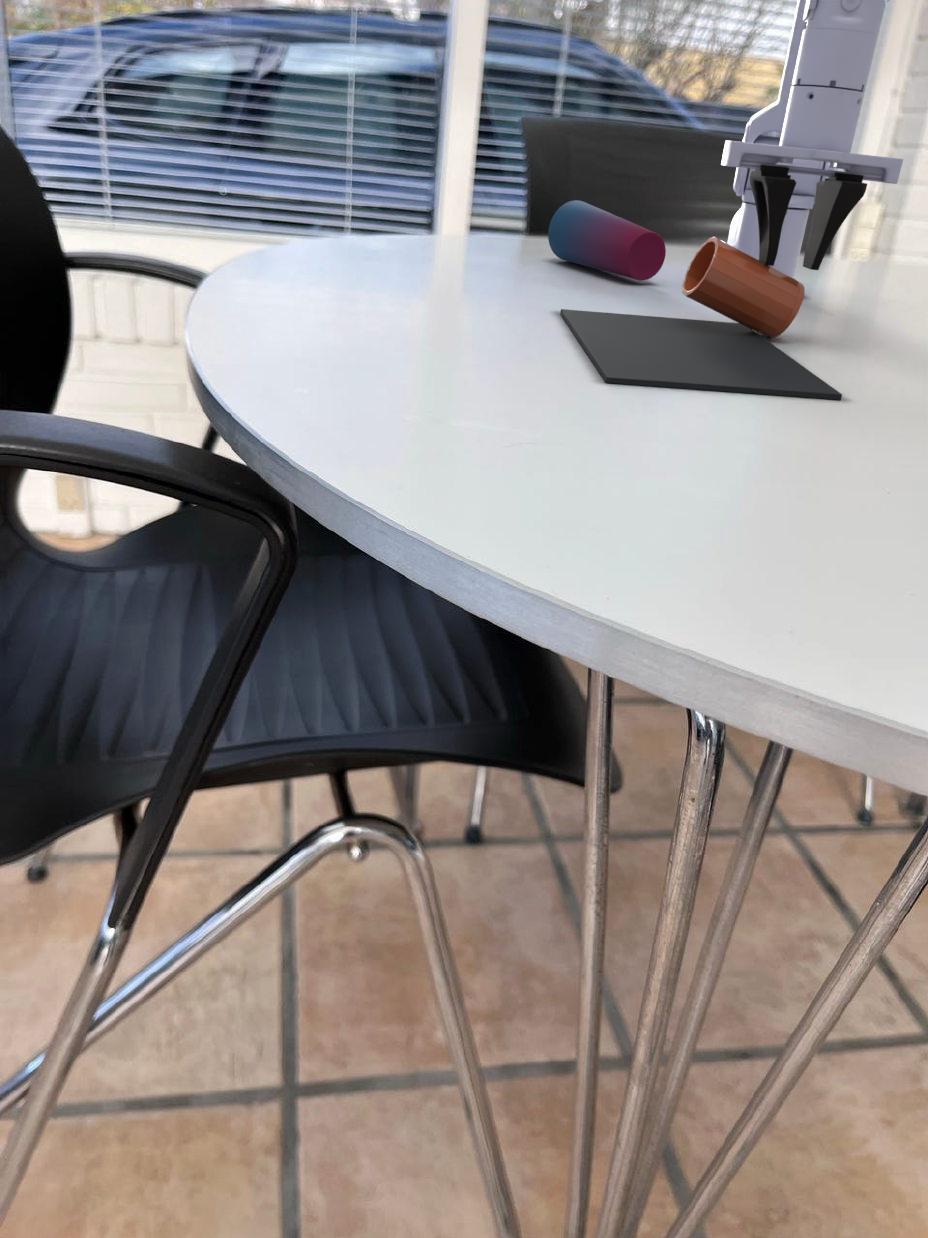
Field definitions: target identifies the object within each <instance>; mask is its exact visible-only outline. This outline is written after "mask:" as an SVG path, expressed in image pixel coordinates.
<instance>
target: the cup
mask: <svg viewBox="0 0 928 1238" xmlns="http://www.w3.org/2000/svg"><path fill="white" fill-rule="evenodd" d="M547 239H548V245H549V247H550V249H551V251H552V253H553V254H554V255H555V256H556V257H557V258H559V259H560V260H562V261H566V262H568V263H573V264H577V265H580V266H584V267H588V268H592V269H596V270H598V271H599V270H600V271H603V272H607V273H610V274H614V275H618V276H623V277H625V278H629V279H634V280H637V281H647V280H650V279H652V278H653V277H655V276H656V275H657V274H658V273H659V271H661V269H662V267H663V265H664V263H665V260H666V251H667V248H666V245H665V241H664V239H663V237H662V236H661V235H660V234H658V233H657V232H655V231H652V230H650V229H647V228H645V227H643V226H641V225H638V224H636V223H633V222H632V221H629V220H627V219H625V218H623V217H620V216H619V215H618V216H617V215H616V214H613V213H611V212H609V211H606V210H604V209H601V208H599V207H597V206H594V205H592V204H590V203H588V202H585V201H583V200H576V199H575V200H570V201H567V202H565V203H564V204H563V205H561V206H560V207H559V208H558V209H557V210H556V211H555V213H554V214H553V216H552V218H551V220H550V222H549V226H548V232H547Z"/></svg>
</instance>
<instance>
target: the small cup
mask: <svg viewBox="0 0 928 1238" xmlns="http://www.w3.org/2000/svg"><path fill="white" fill-rule="evenodd" d="M681 285H682V286H681V292H682V295H684V297H686V298H688V299H690V300H692V301H694V302H696V303H698V304H700V305H702V306H704V307H706V308H708V309H710V310H712V311H714V312H716V313H718V314H720V315H722V316H724V317H726V318H728V319H730V320H732V321H734V322H735V323H740V324H742V325H744V326H746V327H748V328H750V329H752V330H753V331H755V332H756V333H757V334H759V335H761V336H764V337H766V338H768V339H775V338H778V337H779V336H781V335H782V334H783V333H784V332H785V331H786V330H787V329H788V328H789V327H790V326H791V324H792V323H793V322H794V320H795V319H796V317H797V316H798V314H799V312H800V309H801V307H802V305H803V301H804V298H805V293H804V292H805V286H804V284H803V283H802V282H801V281H800V280H798V279H795V277H794V278H792V277H790V276H788V275H786V274H784V273H782V272H781V271H779V270H777V269H775V268H773V267H771V266H769V265H764V263H763V262H761V261H760V260H758V259H756V258H754V257H752V256H750V255H748V254H746V253H745V252H743V251H741V250H739V249H737V248H735V247H733V246H731V245H729V244H728V243H727V241H726V242H725V240H724V241H723V240H722V239H720V238H718V237H716V236H712V237H710V238H708V239H707V240H706V241H705V242H703V243H702V244H701V246H700V247H699V249H697V251H696V253H695V254H694V256H693V258H692V259H691V261H690V263H689V265H688V267H687V269H686V272H685V274H684V278H683V282H682V284H681Z"/></svg>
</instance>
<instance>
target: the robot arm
mask: <svg viewBox="0 0 928 1238" xmlns="http://www.w3.org/2000/svg"><path fill="white" fill-rule="evenodd" d="M886 2H887V3H888V2H890V0H797V2H796V8H795V12H794V17H793V21H792V25H791V26H792V27H791V33H790V36H789V41H788V46H787V52H786V56H785V62H784V67H783V71H782V76H781V80H780V86H779V91H778V94H777V95H778V96H777V99H776V100H775V101H774V102H772V103H771V104H769V105H768V106H766V107H764V108H763V109H761V110H759V111H757V112H756V113H755V114H753V115H752V116H751V117H750V118H749V121H748V122H747V123H746V124H745V129H744V135H743V138H742V140H741V141H740V140H739V141H737V140H728V139H727V140H725V142H724V147H723V152H722V156H721V157H722V158H721V163H720V165H721V166H723V167H728V168H736V169H735V172H734V173H735V174H734V179H733V186H732V190H733V191H734V193H735V196H736V197H741V200H742V203H741V207H740V208H739V209H738V210H737V211H736V213H735V214H734V216H733V217H732V220H731V222H730V225H729V231H728V237H727V241H726V243H728V244H729V245H731V246H733V247H735V248H737V249H739V250H741V251H743V252H745V253H746V254H748V255H750V256H752V257H754V258H756V259H758V260H760V261H761V262H763V263H764V265H769V266H771V267H773V268H775V269H777V270H779V271H781V272H782V273H784V274H786V275H788V276H790V277H792V278H794V279H795V277H796V272H797V268H798V263H799V259H800V255H801V250H802V245H803V241H804V237H805V232H806V228H807V223H808V219H809V215H810V210H813V215H812V221H811V227H810V231H809V235H808V238H807V243H806V246H805V250H804V255H803V262H802V267H803V268H806V269H808V270H812V271H819V270H820V267H821V265H822V262H823V260H824V258H825V256H826V254H827V251H828V249H829V247H830V246H831V244H832V242H833V240H834V239H835V236H836V234H837V233H838V231H839V230H840V228H841V227H842V225H843V223H844V222H845V221H846V220H847V218H848V216H849V215H850V213H851V212H852V211H853V210H854V208H855V207H856V206H857V204H858V203H859V202H860V201H861V200H862V198H863V197H865V194H866V191H867V188H868V183H866V182H863V181H868V182H878V183H885V184H891V185H892V184H894V185H897V184H898V181H899V178H900V173H901V171H902V166H903V162H904V158H900V157H899V158H897V157H888V156H879V155H870V154H862V153H861V154H859V153H852V152H851V151H852V147H853V143H854V139H855V135H856V131H857V127H858V122H859V119H860V113H861V109H862V105H863V101H864V96H865V92H866V88H867V86H868V85H867V84H868V80H869V76H870V71H871V67H872V64H873V63H872V62H873V59H874V54H875V49H876V47H877V42H878V37H879V34H880V30H881V25H882V21H883V17H884V12H885V8H886ZM767 132H776V133H781V134H780V136H771V135H762V134H764V133H767ZM835 169H840V170H835ZM841 170H843V171H841ZM804 294H805V292H804Z"/></svg>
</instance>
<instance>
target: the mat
mask: <svg viewBox="0 0 928 1238" xmlns="http://www.w3.org/2000/svg"><path fill="white" fill-rule="evenodd" d="M559 313H560V315H561V316H562V319H563V320H564V322H565V323H566V324H567V326H568V327H569V329H570V331H571V332H572V333H573V335H574V336H575V338H576V339H577V341H578V342H579V344H580V345H581V347H582V348H583V351H584V352H585V353H586V355H587V356H588V358H589V359H590V360H591V362H592V364H593V365H594V366H595V368H596V369H597V371H598V373H599V374H600V375H601V377H602V378H603V380H604V381H605V383H606V384H620V385H633V386H646V387H658V388H660V387H661V388H673V389H685V390H687V389H688V390H701V391H715V392H727V393H728V392H730V393H741V394H756V395H770V396H782V397H784V396H785V397H796V398H797V397H799V398H808V399H809V398H812V399H822V400H823V399H826V400H838V401H841V400H842V397H843V393H841V392H839V391H838V390H837V389H835V388H834V387H832V386H831V385H830V384H828V383H827V382H826V381H824V380H823V379H821V378H820V377H818V376H817V375H816V374H814V373H813V372H812V371H811V370H809V369H808V368H806V367H805V366H803V365H802V364H801V363H799V362H798V361H796V360H795V359H794V358H792V357H791V356H789V355H788V354H786V353H785V352H784V351H783V350H781V349H780V348H778V347H777V346H776V345H774V344H772V342H770V341H769V340H767V339H766V338H765V337H763V335H761V334H760V333H758V332H756V331H754V330H752V329H750V328H748V327H746V326H744V325H742V324H740V323H738V322H731V321H730V322H728V321H716V320H704V319H691V318H679V317H667V316H655V315H653V316H652V315H642V314H641V315H639V314H629V313H615V312H614V313H613V312H602V311H592V310H591V311H589V310H576V309H565V308H560V312H559Z"/></svg>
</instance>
